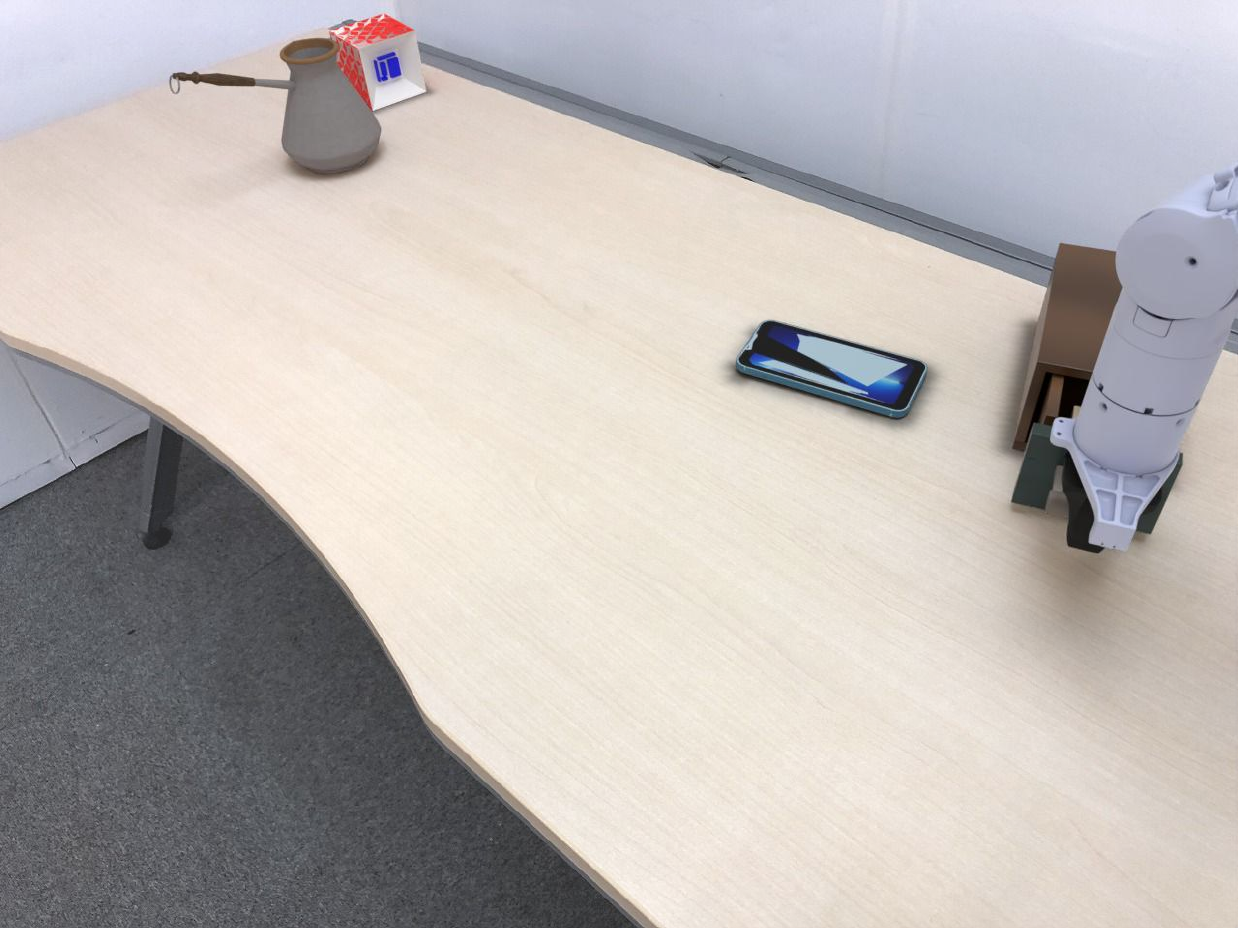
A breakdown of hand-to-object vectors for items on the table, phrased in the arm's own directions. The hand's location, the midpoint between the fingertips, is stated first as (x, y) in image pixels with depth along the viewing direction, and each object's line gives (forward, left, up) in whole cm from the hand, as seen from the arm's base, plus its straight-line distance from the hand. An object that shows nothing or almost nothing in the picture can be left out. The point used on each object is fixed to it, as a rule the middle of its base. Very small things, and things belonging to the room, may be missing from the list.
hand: (1083, 543), depth 67 cm
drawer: (+2, -11, -3) cm, 11 cm away
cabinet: (+4, -20, -4) cm, 21 cm away
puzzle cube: (+97, -38, -4) cm, 105 cm away
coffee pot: (+91, -17, -4) cm, 93 cm away
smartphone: (+23, -13, -4) cm, 27 cm away
